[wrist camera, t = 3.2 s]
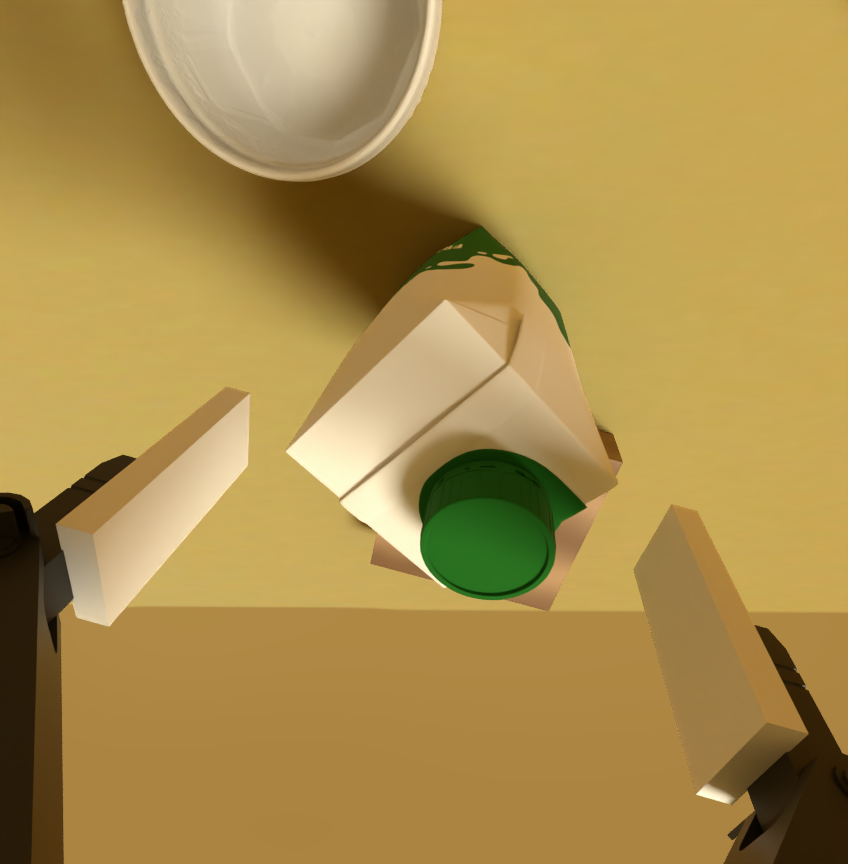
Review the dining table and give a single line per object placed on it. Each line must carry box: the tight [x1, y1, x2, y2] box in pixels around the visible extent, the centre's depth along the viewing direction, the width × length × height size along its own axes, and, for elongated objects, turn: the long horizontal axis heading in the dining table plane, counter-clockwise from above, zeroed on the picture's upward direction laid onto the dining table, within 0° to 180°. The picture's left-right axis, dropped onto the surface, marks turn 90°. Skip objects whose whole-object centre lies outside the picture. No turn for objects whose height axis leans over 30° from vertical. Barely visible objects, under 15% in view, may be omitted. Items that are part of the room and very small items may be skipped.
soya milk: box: [286, 226, 618, 600], centre depth 23 cm, size 9×9×20 cm
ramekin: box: [122, 0, 442, 182], centre depth 23 cm, size 13×13×7 cm
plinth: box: [370, 430, 623, 611], centre depth 37 cm, size 14×14×4 cm
